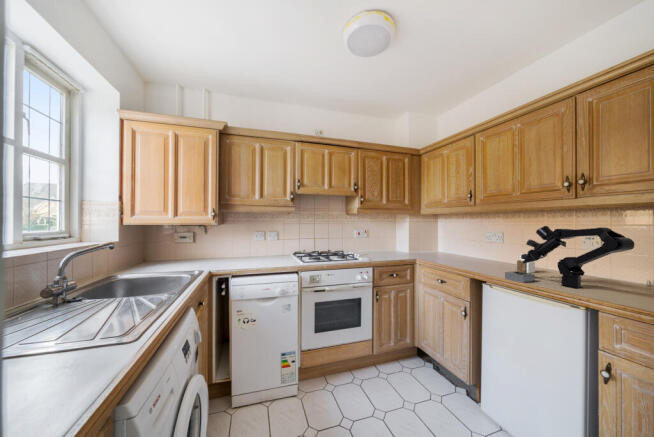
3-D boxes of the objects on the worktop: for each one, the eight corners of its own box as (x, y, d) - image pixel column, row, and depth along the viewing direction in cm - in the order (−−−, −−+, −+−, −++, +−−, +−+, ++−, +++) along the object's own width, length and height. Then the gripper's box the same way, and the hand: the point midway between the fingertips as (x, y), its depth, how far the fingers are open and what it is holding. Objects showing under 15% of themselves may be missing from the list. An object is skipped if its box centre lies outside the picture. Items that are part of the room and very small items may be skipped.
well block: (534, 281, 144) (534, 274, 144) (523, 282, 140) (523, 275, 140) (515, 277, 153) (515, 270, 153) (505, 278, 149) (505, 272, 149)
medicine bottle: (535, 272, 167) (535, 254, 167) (528, 273, 165) (528, 255, 165) (523, 270, 174) (523, 253, 174) (516, 271, 171) (516, 253, 171)
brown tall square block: (526, 277, 153) (526, 261, 153) (524, 278, 151) (525, 261, 151) (518, 276, 156) (518, 260, 156) (516, 277, 154) (517, 260, 154)
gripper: (540, 234, 154) (518, 250, 163) (532, 235, 142) (509, 252, 151) (557, 248, 148) (533, 264, 156) (550, 251, 136) (525, 268, 145)
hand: (525, 262), depth 152 cm, fingers open, 9 cm apart
